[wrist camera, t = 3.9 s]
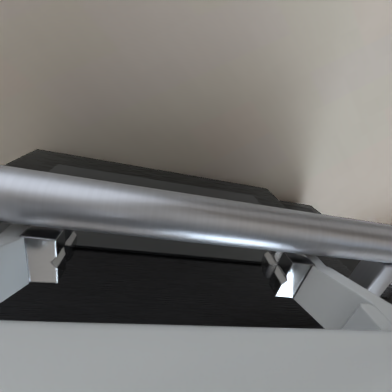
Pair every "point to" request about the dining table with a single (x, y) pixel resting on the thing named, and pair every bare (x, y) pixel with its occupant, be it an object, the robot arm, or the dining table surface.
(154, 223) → the oven door
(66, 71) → the dining table surface
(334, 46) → the dining table surface
